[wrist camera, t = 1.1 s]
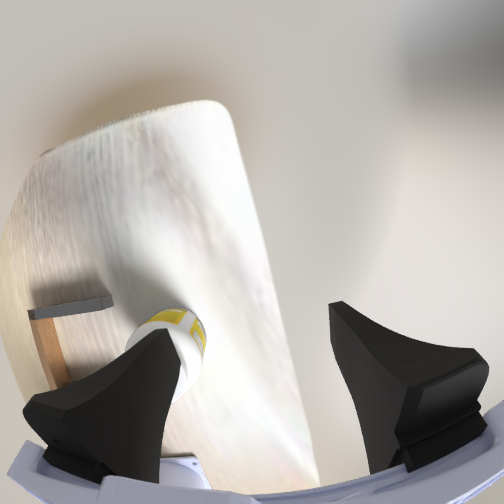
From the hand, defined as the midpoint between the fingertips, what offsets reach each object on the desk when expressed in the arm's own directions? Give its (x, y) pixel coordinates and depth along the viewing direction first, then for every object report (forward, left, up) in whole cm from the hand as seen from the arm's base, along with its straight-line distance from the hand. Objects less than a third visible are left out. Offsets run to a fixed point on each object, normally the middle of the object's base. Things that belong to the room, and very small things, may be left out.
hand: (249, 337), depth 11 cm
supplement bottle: (-2, +6, -13) cm, 14 cm away
